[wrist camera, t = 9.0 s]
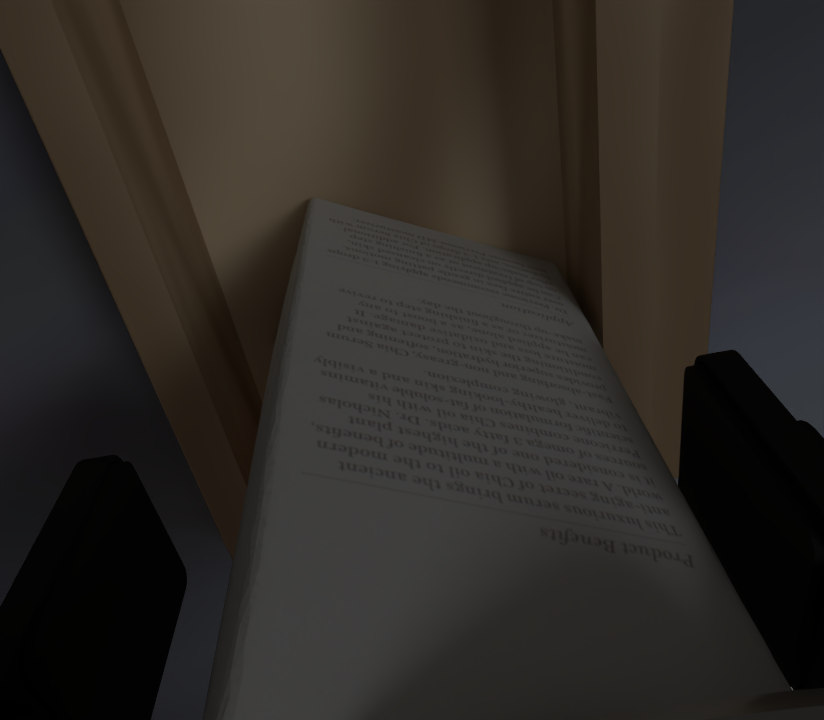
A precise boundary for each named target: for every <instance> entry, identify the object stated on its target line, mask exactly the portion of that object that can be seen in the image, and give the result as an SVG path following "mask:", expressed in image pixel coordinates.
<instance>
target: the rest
mask: <svg viewBox="0 0 824 720" xmlns="http://www.w3.org/2000/svg"><path fill="white" fill-rule="evenodd" d="M733 3H734V0H0V49H1V52H2V54H3V56H4V58H5V60H6V63H7V65H8V67H9V69H10V71H11V74H12V76H13V78H14V80H15V82H16V85H17V87H18V89H19V91H20V93H21V96H22V98H23V100H24V102H25V105H26V107H27V109H28V111H29V113H30V116H31V118H32V120H33V122H34V124H35V127H36V129H37V131H38V133H39V135H40V138H41V140H42V142H43V144H44V146H45V149H46V151H47V153H48V155H49V157H50V160H51V162H52V164H53V166H54V169H55V171H56V173H57V175H58V177H59V180H60V182H61V184H62V186H63V188H64V191H65V193H66V195H67V197H68V199H69V202H70V204H71V206H72V208H73V210H74V213H75V215H76V217H77V219H78V221H79V224H80V226H81V228H82V230H83V233H84V235H85V237H86V239H87V241H88V244H89V246H90V248H91V250H92V252H93V255H94V257H95V259H96V261H97V263H98V266H99V268H100V270H101V272H102V274H103V277H104V279H105V281H106V283H107V285H108V288H109V290H110V292H111V294H112V297H113V299H114V301H115V303H116V305H117V308H118V310H119V312H120V314H121V316H122V319H123V321H124V323H125V325H126V327H127V330H128V332H129V334H130V336H131V338H132V341H133V343H134V345H135V347H136V349H137V352H138V354H139V356H140V358H141V360H142V363H143V365H144V367H145V369H146V372H147V374H148V376H149V378H150V380H151V383H152V385H153V387H154V389H155V391H156V394H157V396H158V398H159V400H160V402H161V405H162V407H163V409H164V411H165V413H166V416H167V418H168V420H169V422H170V424H171V427H172V429H173V431H174V433H175V436H176V438H177V440H178V442H179V444H180V447H181V449H182V451H183V453H184V455H185V458H186V460H187V462H188V464H189V466H190V469H191V471H192V473H193V475H194V477H195V480H196V482H197V484H198V486H199V488H200V491H201V493H202V495H203V497H204V500H205V502H206V504H207V506H208V508H209V511H210V513H211V515H212V517H213V519H214V522H215V524H216V526H217V528H218V530H219V533H220V535H221V537H222V539H223V541H224V544H225V546H226V548H227V550H228V551H229V553H230V555H231V557H232V559H233V558H234V553H235V547H236V542H237V537H238V532H239V526H240V521H241V516H242V511H243V505H244V500H245V495H246V490H247V485H248V480H249V475H250V469H251V464H252V458H253V453H254V447H255V442H256V437H257V432H258V426H259V421H260V415H261V409H262V404H263V399H264V394H265V389H266V384H267V379H268V374H269V369H270V364H271V360H272V355H273V350H274V345H275V340H276V336H277V331H278V326H279V322H280V317H281V313H282V308H283V304H284V299H285V295H286V290H287V286H288V282H289V278H290V274H291V270H292V266H293V262H294V258H295V254H296V250H297V246H298V242H299V238H300V235H301V231H302V227H303V223H304V219H305V215H306V211H307V207H308V203H309V202H310V200H311V199H312V198H319V199H323V200H326V201H329V202H333V203H337V204H340V205H344V206H347V207H350V208H354V209H357V210H361V211H365V212H369V213H372V214H376V215H380V216H383V217H387V218H391V219H395V220H398V221H402V222H406V223H409V224H413V225H417V226H420V227H424V228H428V229H431V230H435V231H439V232H443V233H447V234H450V235H454V236H457V237H461V238H465V239H468V240H472V241H476V242H479V243H483V244H487V245H490V246H494V247H498V248H501V249H505V250H508V251H512V252H516V253H519V254H523V255H526V256H530V257H534V258H538V259H542V260H546V261H550V262H553V263H555V264H556V266H557V267H558V268H559V270H560V272H561V274H562V276H563V277H564V279H565V281H566V283H567V285H568V286H569V288H570V290H571V292H572V294H573V295H574V297H575V299H576V301H577V303H578V304H579V306H580V308H581V310H582V312H583V314H584V316H585V317H586V319H587V321H588V323H589V324H590V326H591V328H592V330H593V332H594V334H595V336H596V338H597V339H598V341H599V343H600V345H601V347H602V348H603V350H604V352H605V354H606V356H607V357H608V359H609V361H610V363H611V365H612V366H613V368H614V370H615V372H616V374H617V375H618V377H619V379H620V381H621V383H622V385H623V386H624V388H625V390H626V392H627V394H628V396H629V398H630V399H631V401H632V403H633V405H634V407H635V408H636V410H637V412H638V414H639V416H640V418H641V419H642V421H643V423H644V425H645V426H646V428H647V430H648V432H649V433H650V435H651V437H652V439H653V441H654V443H655V445H656V446H657V448H658V450H659V452H660V454H661V455H662V457H663V459H664V461H665V463H666V464H667V466H668V468H669V470H670V472H671V474H672V476H673V477H674V478H679V460H680V441H681V422H682V403H683V384H684V371H685V368H686V367H687V366H692V365H694V362H695V359H696V357H697V356H699V355H704V354H708V342H709V328H710V315H711V301H712V288H713V274H714V261H715V247H716V234H717V220H718V206H719V193H720V179H721V166H722V152H723V139H724V125H725V112H726V98H727V84H728V71H729V57H730V44H731V30H732V17H733Z"/></svg>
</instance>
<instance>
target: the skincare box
mask: <svg viewBox="0 0 824 720" xmlns="http://www.w3.org/2000/svg"><path fill="white" fill-rule="evenodd" d="M791 690H792V689H791V688H790V686H789V684H788V682H787V681H786V679H785V677H784V675H783V674H782V672H781V670H780V669H779V667H778V665H777V663H776V662H775V660H774V658H773V656H772V654H771V652H770V650H769V648H768V646H767V644H766V643H765V641H764V639H763V637H762V636H761V634H760V632H759V631H758V629H757V627H756V625H755V624H754V622H753V620H752V618H751V617H750V615H749V613H748V611H747V610H746V608H745V606H744V604H743V603H742V601H741V599H740V597H739V596H738V594H737V592H736V590H735V588H734V586H733V585H732V583H731V581H730V579H729V577H728V575H727V574H726V572H725V570H724V568H723V566H722V564H721V562H720V560H719V559H718V557H717V555H716V553H715V551H714V550H713V548H712V546H711V544H710V543H709V541H708V539H707V537H706V535H705V534H704V532H703V530H702V528H701V526H700V525H699V523H698V521H697V519H696V517H695V515H694V514H693V512H692V510H691V508H690V506H689V505H688V503H687V501H686V499H685V497H684V496H683V494H682V492H681V491H680V489H679V487H678V485H677V483H676V481H675V479H674V477H673V476H672V474H671V472H670V470H669V468H668V466H667V464H666V463H665V461H664V459H663V457H662V455H661V454H660V452H659V450H658V448H657V446H656V445H655V443H654V441H653V439H652V437H651V435H650V433H649V432H648V430H647V428H646V426H645V425H644V423H643V421H642V419H641V418H640V416H639V414H638V412H637V410H636V408H635V407H634V405H633V403H632V401H631V399H630V398H629V396H628V394H627V392H626V390H625V388H624V386H623V385H622V383H621V381H620V379H619V377H618V375H617V374H616V372H615V370H614V368H613V366H612V365H611V363H610V361H609V359H608V357H607V356H606V354H605V352H604V350H603V348H602V347H601V345H600V343H599V341H598V339H597V338H596V336H595V334H594V332H593V330H592V328H591V326H590V324H589V323H588V321H587V319H586V317H585V316H584V314H583V312H582V310H581V308H580V306H579V304H578V303H577V301H576V299H575V297H574V295H573V294H572V292H571V290H570V288H569V286H568V285H567V283H566V281H565V279H564V277H563V276H562V274H561V272H560V270H559V268H558V267H557V266H556V264H555V263H553V262H550V261H546V260H542V259H538V258H534V257H530V256H526V255H523V254H519V253H516V252H512V251H508V250H505V249H501V248H498V247H494V246H490V245H487V244H483V243H479V242H476V241H472V240H468V239H465V238H461V237H457V236H454V235H450V234H447V233H443V232H439V231H435V230H431V229H428V228H424V227H420V226H417V225H413V224H409V223H406V222H402V221H398V220H395V219H391V218H387V217H383V216H380V215H376V214H372V213H369V212H365V211H361V210H357V209H354V208H350V207H347V206H344V205H340V204H337V203H333V202H329V201H326V200H323V199H319V198H312V199H311V200H310V202H309V203H308V207H307V211H306V215H305V219H304V223H303V227H302V231H301V235H300V238H299V242H298V246H297V250H296V254H295V258H294V262H293V266H292V270H291V274H290V278H289V282H288V286H287V290H286V295H285V299H284V304H283V308H282V313H281V317H280V322H279V326H278V331H277V336H276V340H275V345H274V350H273V355H272V360H271V364H270V369H269V374H268V379H267V384H266V389H265V394H264V399H263V404H262V409H261V415H260V421H259V426H258V432H257V437H256V442H255V447H254V453H253V458H252V464H251V469H250V475H249V480H248V485H247V490H246V495H245V500H244V505H243V511H242V516H241V521H240V526H239V532H238V537H237V542H236V547H235V553H234V558H233V563H232V568H231V574H230V579H229V584H228V589H227V595H226V600H225V605H224V610H223V616H222V621H221V626H220V631H219V637H218V642H217V647H216V652H215V657H214V663H213V668H212V673H211V678H210V684H209V689H208V694H207V700H206V705H205V710H204V716H203V720H572V719H579V718H586V717H593V716H600V715H607V714H614V713H621V712H628V711H635V710H642V709H649V708H656V707H663V706H670V705H677V704H685V703H693V702H701V701H709V700H717V699H725V698H733V697H741V696H749V695H757V694H765V693H773V692H781V691H791Z"/></svg>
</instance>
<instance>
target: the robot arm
mask: <svg viewBox="0 0 824 720" xmlns="http://www.w3.org/2000/svg"><path fill="white" fill-rule="evenodd" d="M678 487H679V489H680V491H681V492H682V494H683V496H684V497H685V499H686V501H687V503H688V505H689V506H690V508H691V510H692V512H693V514H694V515H695V517H696V519H697V521H698V523H699V525H700V526H701V528H702V530H703V532H704V534H705V535H706V537H707V539H708V541H709V543H710V544H711V546H712V548H713V550H714V551H715V553H716V555H717V557H718V559H719V560H720V562H721V564H722V566H723V568H724V570H725V572H726V574H727V575H728V577H729V579H730V581H731V583H732V585H733V586H734V588H735V590H736V592H737V594H738V596H739V597H740V599H741V601H742V603H743V604H744V606H745V608H746V610H747V611H748V613H749V615H750V617H751V618H752V620H753V622H754V624H755V625H756V627H757V629H758V631H759V632H760V634H761V636H762V637H763V639H764V641H765V643H766V644H767V646H768V648H769V650H770V652H771V654H772V656H773V658H774V660H775V662H776V663H777V665H778V667H779V669H780V670H781V672H782V674H783V675H784V677H785V679H786V681H787V682H788V684H789V686H790V687H792V688H793V690H791V691H781V692H773V693H765V694H757V695H749V696H741V697H733V698H725V699H717V700H709V701H701V702H693V703H685V704H677V705H670V706H663V707H656V708H649V709H642V710H635V711H628V712H621V713H614V714H607V715H600V716H593V717H586V718H579V719H572V720H824V438H823V437H822V436H821V435H820V434H819V433H818V431H817V430H816V429H815V428H814V427H813V426H811V425H810V424H809V423H808V422H805V421H802V420H799V421H796V419H795V418H794V417H793V416H792V415H791V414H790V412H789V411H788V410H787V409H786V408H785V407H784V405H783V404H782V403H781V402H780V401H779V400H778V398H777V397H776V396H775V395H774V394H773V393H772V391H771V390H770V389H769V388H768V387H767V386H766V384H765V383H764V382H763V381H762V380H761V379H760V377H759V376H758V375H757V374H756V373H755V372H754V370H753V369H752V368H751V367H750V366H749V365H748V363H747V362H746V361H745V360H744V359H743V358H742V356H741V355H740V354H739V353H738V352H737V351H735V350H728V351H722V352H716V353H710V354H704V355H699V356H697V357H696V359H695V362H694V365H692V366H687V367H686V368H685V371H684V384H683V403H682V422H681V441H680V460H679V479H678ZM186 585H187V576H186V570H185V567H184V564H183V562H182V560H181V559H180V557H179V555H178V553H177V551H176V549H175V547H174V545H173V543H172V541H171V539H170V537H169V535H168V533H167V531H166V529H165V527H164V525H163V523H162V521H161V519H160V517H159V515H158V514H157V512H156V510H155V508H154V506H153V504H152V502H151V500H150V498H149V496H148V494H147V492H146V490H145V488H144V486H143V484H142V482H141V480H140V478H139V476H138V474H137V472H136V470H135V469H134V467H133V465H132V464H131V463H130V462H127V461H125V462H123V461H122V460H121V459H120V458H119V457H118V456H117V455H109V456H103V457H98V458H92V459H86V460H82V461H80V462H78V463H77V465H76V466H75V468H74V469H73V471H72V473H71V475H70V477H69V479H68V481H67V483H66V484H65V486H64V488H63V490H62V492H61V494H60V496H59V498H58V499H57V501H56V503H55V505H54V507H53V509H52V511H51V513H50V514H49V516H48V518H47V520H46V522H45V524H44V526H43V528H42V530H41V531H40V533H39V535H38V537H37V539H36V541H35V543H34V545H33V546H32V548H31V550H30V552H29V554H28V556H27V558H26V560H25V561H24V563H23V565H22V567H21V569H20V571H19V573H18V575H17V576H16V578H15V580H14V582H13V584H12V586H11V588H10V590H9V592H8V593H7V595H6V597H5V599H4V601H3V603H2V605H1V607H0V720H151V716H152V712H153V709H154V705H155V701H156V697H157V694H158V690H159V686H160V683H161V679H162V675H163V672H164V668H165V664H166V660H167V657H168V653H169V649H170V646H171V642H172V638H173V634H174V631H175V627H176V623H177V620H178V616H179V612H180V609H181V605H182V601H183V597H184V594H185V590H186Z"/></svg>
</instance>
